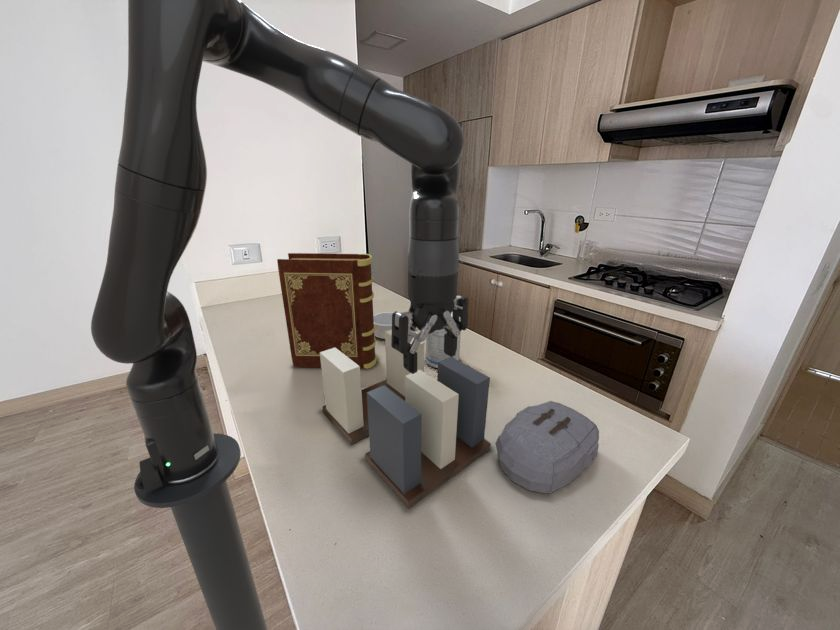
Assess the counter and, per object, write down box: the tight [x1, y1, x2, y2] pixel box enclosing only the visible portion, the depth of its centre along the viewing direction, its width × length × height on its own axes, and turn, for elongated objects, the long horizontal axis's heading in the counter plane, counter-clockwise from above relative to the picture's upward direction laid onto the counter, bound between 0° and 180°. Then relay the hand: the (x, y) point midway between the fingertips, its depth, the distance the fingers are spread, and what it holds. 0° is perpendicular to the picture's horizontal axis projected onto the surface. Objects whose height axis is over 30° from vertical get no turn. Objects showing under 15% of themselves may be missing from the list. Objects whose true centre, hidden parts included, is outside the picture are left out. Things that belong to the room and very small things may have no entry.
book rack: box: [321, 378, 492, 509], centre depth 70 cm, size 20×31×2 cm, turn 40°
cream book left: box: [320, 348, 364, 434], centre depth 69 cm, size 4×10×14 cm, turn 40°
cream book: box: [405, 370, 459, 469], centre depth 61 cm, size 4×10×14 cm, turn 40°
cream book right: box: [384, 330, 425, 397], centre depth 79 cm, size 4×10×14 cm, turn 40°
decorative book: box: [276, 252, 378, 370], centre depth 91 cm, size 22×8×30 cm, turn 89°
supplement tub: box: [425, 313, 462, 369], centre depth 94 cm, size 10×10×15 cm
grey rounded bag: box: [494, 400, 600, 494], centre depth 62 cm, size 15×8×20 cm
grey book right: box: [436, 357, 491, 447], centre depth 66 cm, size 4×10×14 cm, turn 40°
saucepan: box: [373, 311, 395, 340], centre depth 115 cm, size 12×20×6 cm, turn 133°
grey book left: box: [367, 385, 421, 494], centre depth 56 cm, size 4×10×14 cm, turn 40°
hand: (431, 362), depth 57 cm, fingers open, 8 cm apart
